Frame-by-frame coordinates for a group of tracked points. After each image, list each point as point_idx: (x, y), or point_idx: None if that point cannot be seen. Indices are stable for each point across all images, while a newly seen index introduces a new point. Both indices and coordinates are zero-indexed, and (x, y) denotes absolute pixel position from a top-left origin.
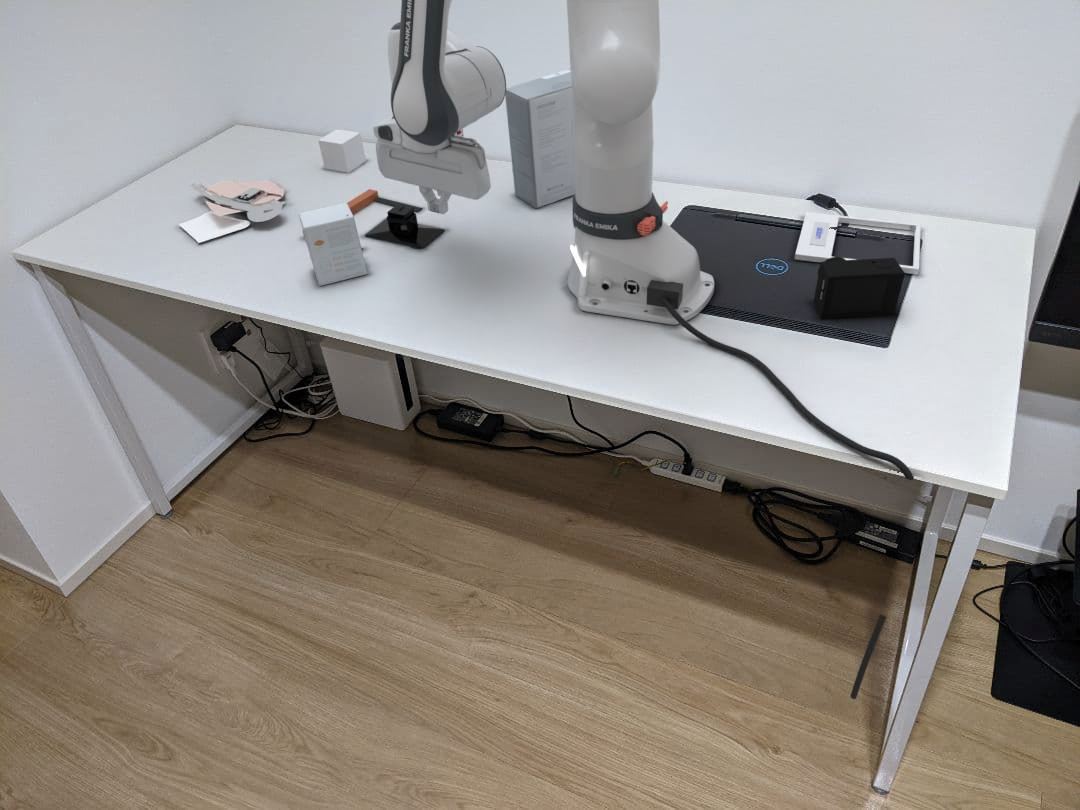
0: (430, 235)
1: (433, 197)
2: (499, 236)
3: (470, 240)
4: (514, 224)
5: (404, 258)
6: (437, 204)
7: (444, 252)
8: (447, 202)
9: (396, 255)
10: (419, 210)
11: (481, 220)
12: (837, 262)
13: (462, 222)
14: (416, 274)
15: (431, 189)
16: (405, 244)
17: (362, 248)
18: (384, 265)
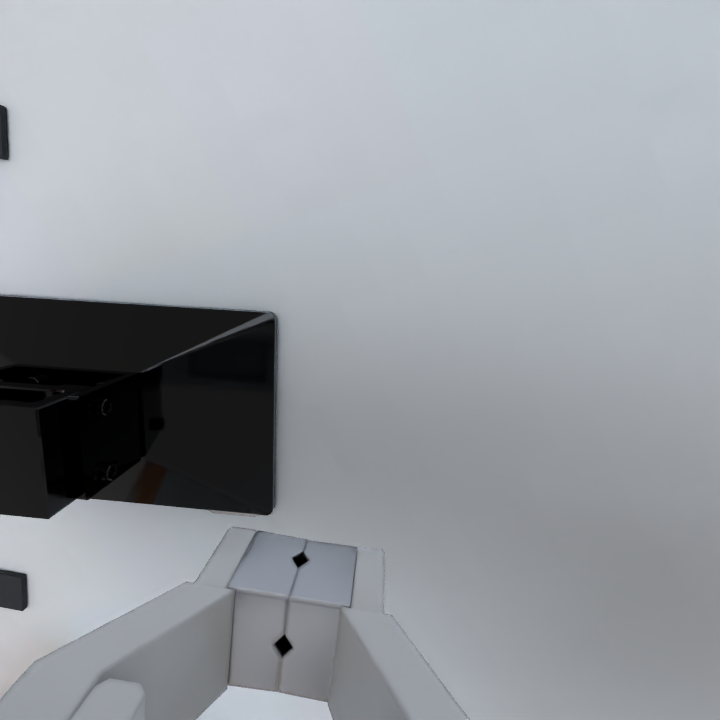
0: (241, 406)
1: (213, 631)
2: (609, 274)
3: (461, 364)
4: (654, 95)
5: None
6: (322, 698)
7: (386, 506)
8: (382, 597)
9: (188, 581)
10: (3, 139)
11: (419, 119)
12: None
13: (318, 185)
14: None
15: (131, 670)
16: (172, 505)
17: (17, 579)
18: None
